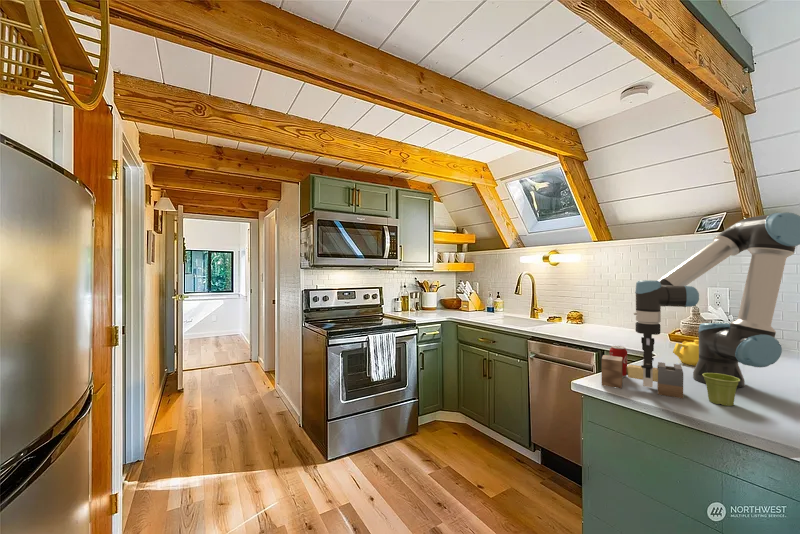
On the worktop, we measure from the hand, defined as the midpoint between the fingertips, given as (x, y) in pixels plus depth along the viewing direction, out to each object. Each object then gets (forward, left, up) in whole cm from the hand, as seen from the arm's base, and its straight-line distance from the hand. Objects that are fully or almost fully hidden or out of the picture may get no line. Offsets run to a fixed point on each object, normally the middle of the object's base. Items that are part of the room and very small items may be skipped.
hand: (647, 381), depth 131 cm
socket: (+11, 0, -3) cm, 12 cm away
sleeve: (-7, 0, -3) cm, 7 cm away
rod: (-1, 0, +1) cm, 2 cm away
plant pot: (-20, +1, -3) cm, 20 cm away
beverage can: (+10, -14, -3) cm, 17 cm away
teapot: (-19, -58, -3) cm, 61 cm away
